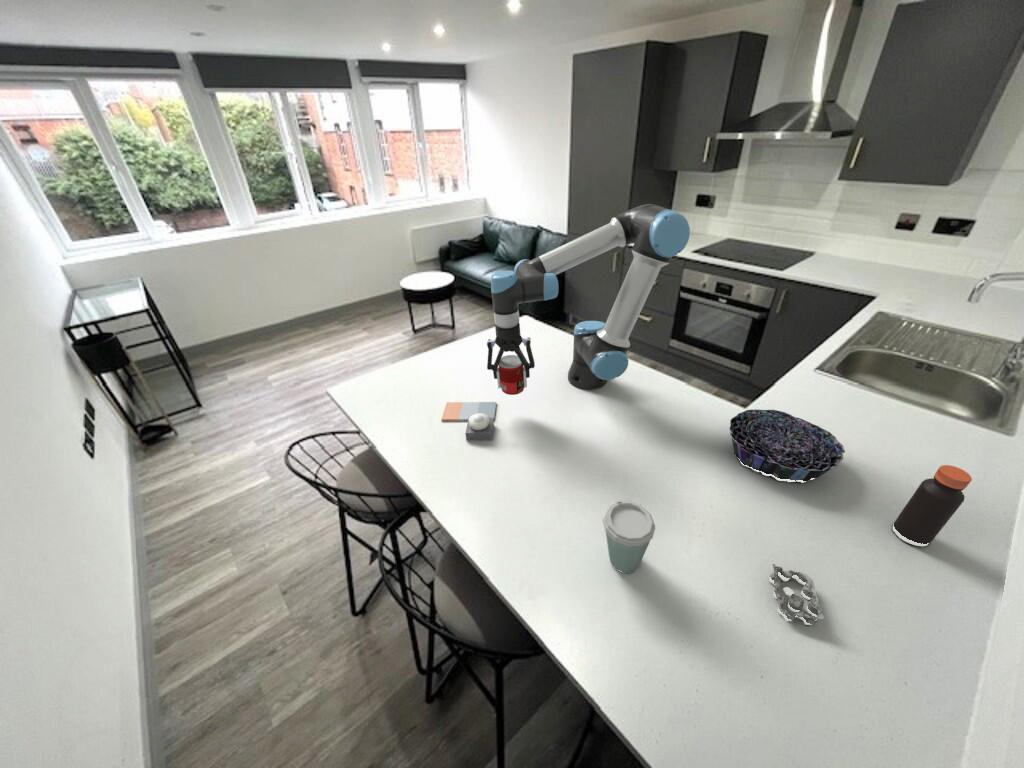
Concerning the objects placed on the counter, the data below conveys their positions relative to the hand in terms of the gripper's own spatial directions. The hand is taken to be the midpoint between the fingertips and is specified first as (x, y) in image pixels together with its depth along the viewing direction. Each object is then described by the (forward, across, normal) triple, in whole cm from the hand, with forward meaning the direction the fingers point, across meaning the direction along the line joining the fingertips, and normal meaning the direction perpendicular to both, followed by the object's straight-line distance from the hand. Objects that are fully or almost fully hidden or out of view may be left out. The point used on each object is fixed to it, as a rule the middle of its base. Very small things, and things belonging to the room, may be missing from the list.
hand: (512, 385), depth 138 cm
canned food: (+2, 0, 0) cm, 2 cm away
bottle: (+13, -94, +49) cm, 107 cm away
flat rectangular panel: (+10, +16, 0) cm, 19 cm away
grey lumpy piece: (+12, -60, +65) cm, 89 cm away
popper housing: (+10, +11, +11) cm, 19 cm away
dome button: (+9, +11, +11) cm, 18 cm away
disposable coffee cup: (+11, -27, +57) cm, 64 cm away
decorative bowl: (+13, -76, +23) cm, 81 cm away
